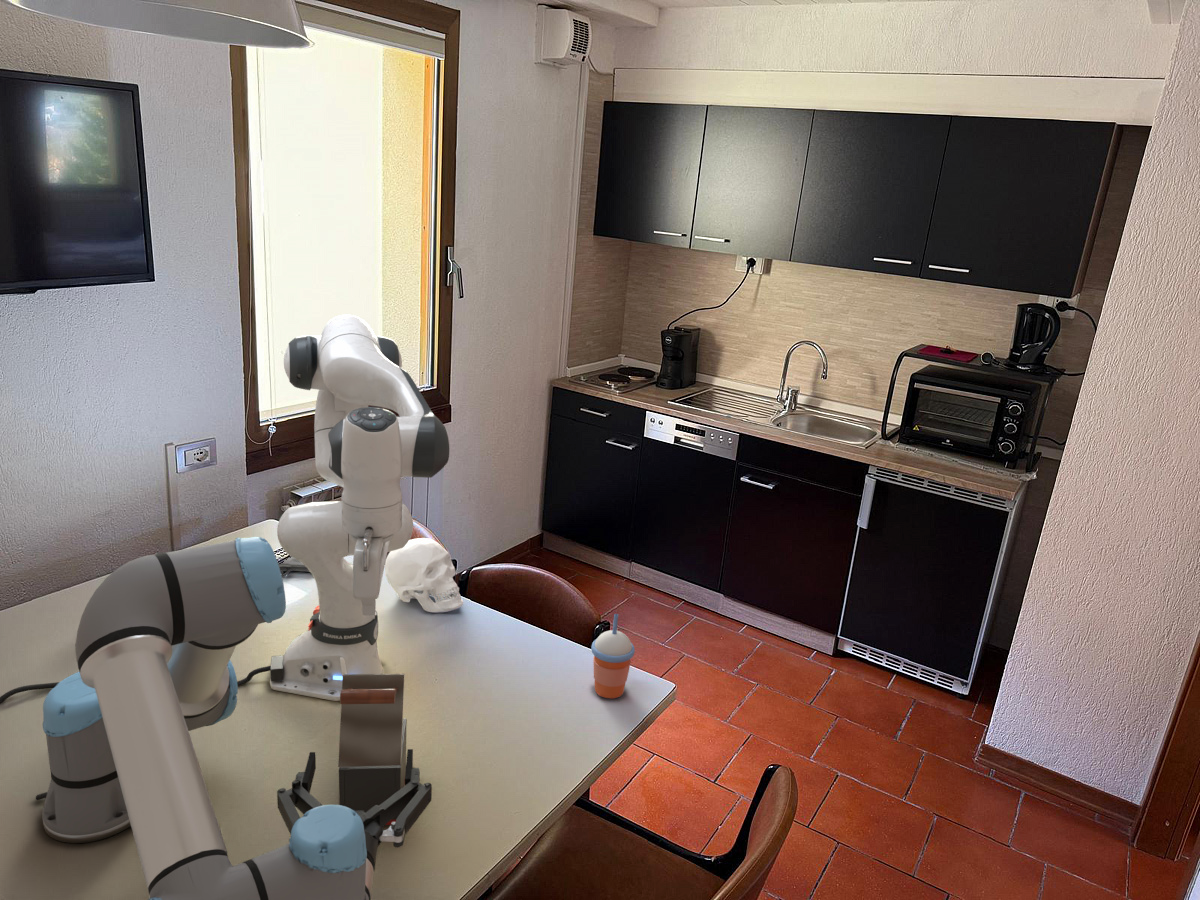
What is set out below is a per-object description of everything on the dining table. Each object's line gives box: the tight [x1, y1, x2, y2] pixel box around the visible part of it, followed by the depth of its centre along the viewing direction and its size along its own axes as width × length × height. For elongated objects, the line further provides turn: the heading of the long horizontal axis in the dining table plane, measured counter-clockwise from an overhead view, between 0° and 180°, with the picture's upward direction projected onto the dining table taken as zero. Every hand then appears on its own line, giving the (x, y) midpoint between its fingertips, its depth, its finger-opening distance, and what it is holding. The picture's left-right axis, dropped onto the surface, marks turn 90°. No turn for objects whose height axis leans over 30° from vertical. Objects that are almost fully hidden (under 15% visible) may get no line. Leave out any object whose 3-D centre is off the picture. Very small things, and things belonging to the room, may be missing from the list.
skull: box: [384, 537, 465, 614], centre depth 211 cm, size 13×22×16 cm, turn 67°
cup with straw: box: [590, 613, 636, 699], centre depth 179 cm, size 9×9×18 cm
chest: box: [338, 718, 408, 826], centre depth 144 cm, size 13×10×11 cm
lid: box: [337, 673, 406, 768], centre depth 133 cm, size 14×10×10 cm
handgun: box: [278, 557, 311, 579], centre depth 220 cm, size 2×18×12 cm
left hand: (362, 758), depth 123 cm, fingers open, 13 cm apart
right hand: (372, 598), depth 133 cm, fingers open, 8 cm apart
